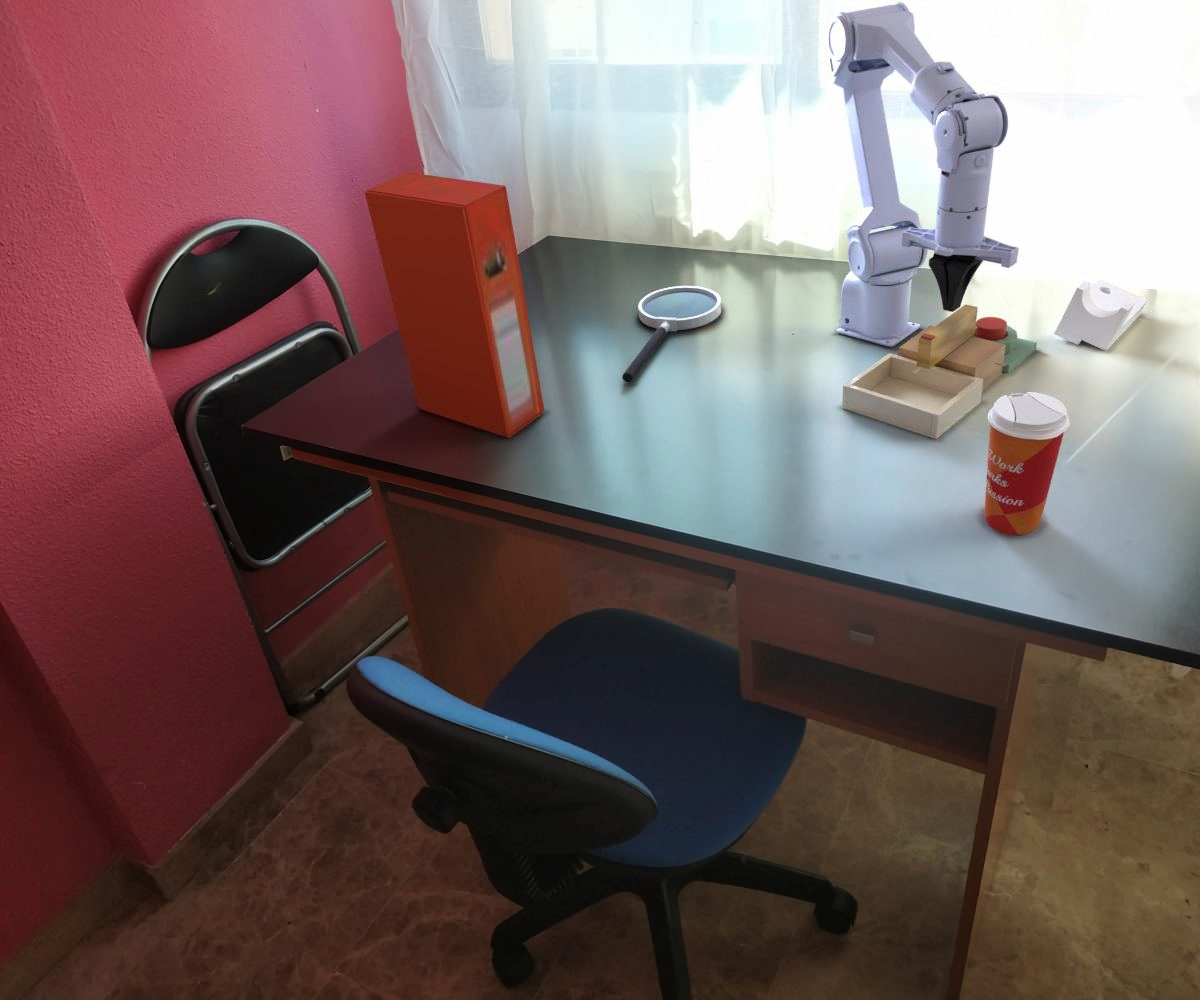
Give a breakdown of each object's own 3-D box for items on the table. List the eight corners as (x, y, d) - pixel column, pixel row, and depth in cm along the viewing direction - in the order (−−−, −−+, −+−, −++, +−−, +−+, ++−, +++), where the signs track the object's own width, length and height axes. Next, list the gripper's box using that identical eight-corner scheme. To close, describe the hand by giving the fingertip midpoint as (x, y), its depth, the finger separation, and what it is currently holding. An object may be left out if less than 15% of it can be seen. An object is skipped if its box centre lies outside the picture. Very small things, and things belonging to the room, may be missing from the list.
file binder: (506, 439, 133) (461, 206, 114) (418, 410, 142) (364, 190, 124) (544, 412, 138) (507, 184, 119) (457, 386, 147) (410, 171, 129)
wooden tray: (842, 408, 130) (842, 385, 128) (887, 375, 136) (889, 352, 134) (936, 439, 121) (938, 415, 119) (980, 402, 127) (983, 379, 125)
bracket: (1102, 356, 135) (1128, 310, 130) (1054, 333, 138) (1077, 287, 133) (1136, 320, 143) (1161, 275, 137) (1089, 299, 146) (1112, 254, 140)
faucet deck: (857, 388, 134) (858, 357, 131) (920, 343, 142) (923, 313, 140) (968, 423, 124) (972, 390, 121) (1029, 372, 132) (1034, 340, 130)
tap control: (940, 354, 139) (942, 335, 137) (968, 333, 143) (970, 314, 141) (1008, 373, 133) (1011, 353, 131) (1035, 350, 137) (1039, 330, 135)
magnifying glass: (585, 380, 144) (584, 367, 143) (654, 294, 167) (653, 283, 166) (672, 388, 139) (671, 375, 138) (730, 298, 162) (730, 287, 161)
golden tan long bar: (962, 331, 134) (965, 302, 132) (974, 334, 133) (978, 305, 131) (916, 366, 128) (918, 336, 125) (928, 369, 127) (931, 339, 124)
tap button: (969, 337, 137) (970, 324, 135) (983, 327, 139) (985, 314, 138) (996, 344, 134) (998, 331, 133) (1010, 333, 136) (1012, 320, 135)
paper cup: (963, 504, 110) (976, 394, 102) (1030, 495, 110) (1049, 384, 102) (992, 546, 104) (1009, 433, 96) (1064, 536, 104) (1087, 422, 96)
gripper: (891, 205, 122) (885, 306, 130) (1003, 224, 113) (989, 332, 121) (921, 188, 126) (913, 288, 133) (1032, 206, 117) (1017, 312, 124)
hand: (951, 308), depth 127 cm, fingers closed
